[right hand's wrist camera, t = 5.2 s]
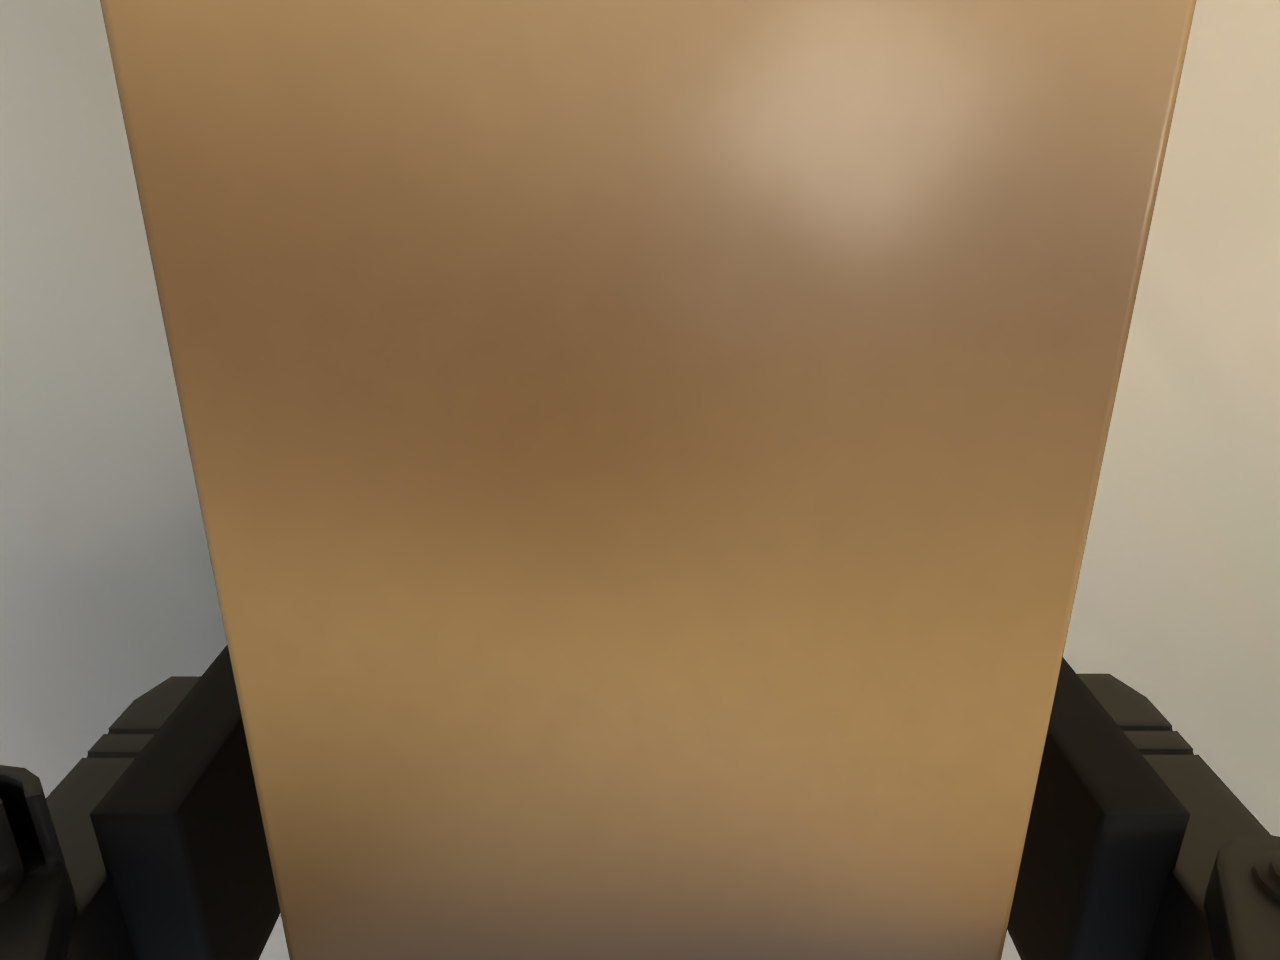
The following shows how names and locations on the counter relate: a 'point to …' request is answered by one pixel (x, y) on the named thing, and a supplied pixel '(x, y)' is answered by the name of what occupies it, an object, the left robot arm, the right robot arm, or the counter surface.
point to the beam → (646, 445)
